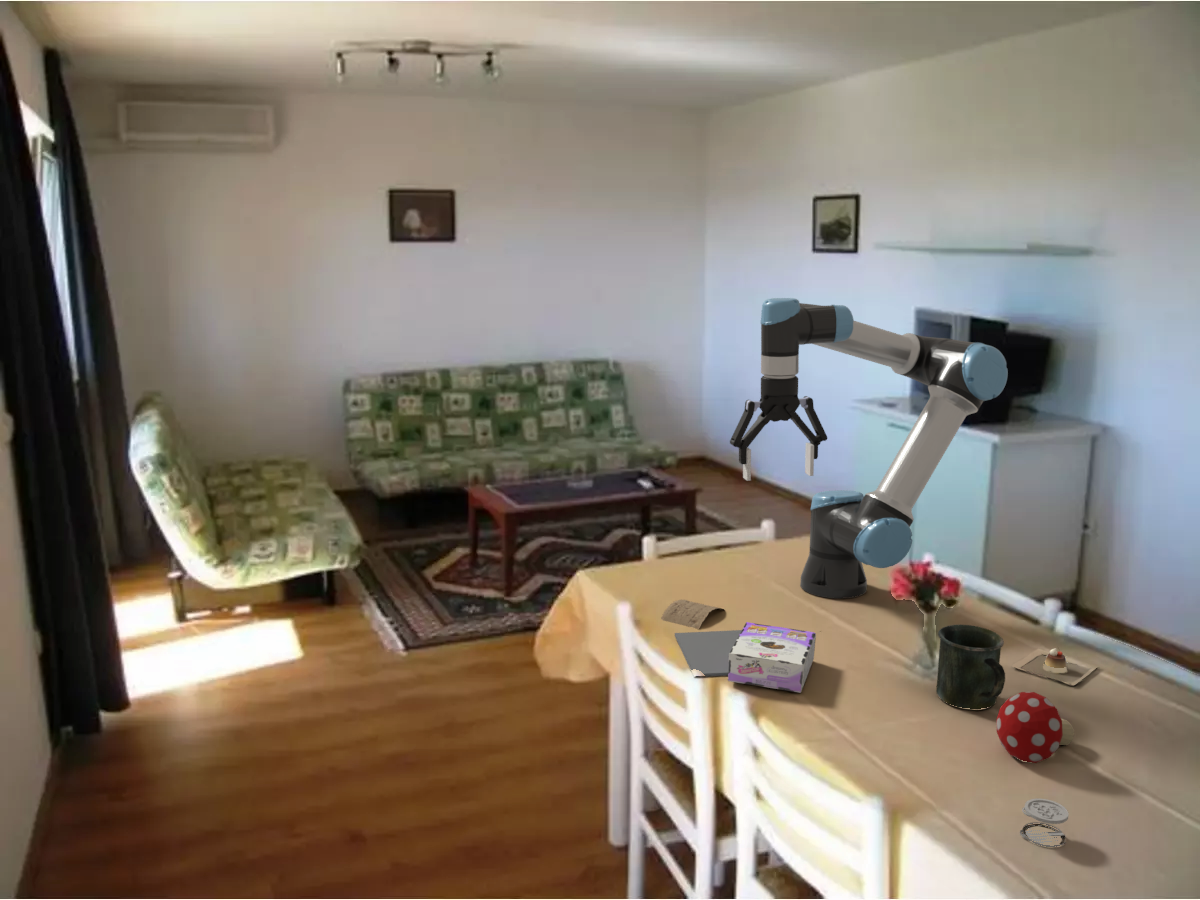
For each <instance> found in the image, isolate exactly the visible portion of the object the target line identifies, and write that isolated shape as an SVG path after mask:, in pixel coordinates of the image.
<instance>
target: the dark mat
mask: <svg viewBox="0 0 1200 900" xmlns="http://www.w3.org/2000/svg"><path fill="white" fill-rule="evenodd" d="M741 631H742V629H736V630H734V629H733V630H732V629H731V630H715V631H710V630H709V631H690V632H674V637H675V639H676V642H677V644H678V646H679V648H680V650H681V652H682V655H683V657H684V660H685V661H686V663H687V665H688V668H689V669H691V670H693V669H696V670H699V671H701V672H702V673H703V674H704V675H705V676H706V677H721V676H722V677H723V676H725V677H726V676H728V671H729V653H730V651H731V649H732V648H733V646H734V644H735V642H736V640H737V638H738V637H739V635H740V633H741ZM691 670H690V671H691Z"/></svg>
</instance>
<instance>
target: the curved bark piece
mask: <svg viewBox="0 0 1200 900" xmlns="http://www.w3.org/2000/svg"><path fill="white" fill-rule="evenodd" d="M720 609H721V610H720ZM714 610H720V611H725V609H724V608H721V607H718V606H717V607H716V606H713V605H712V606H711V605H709V604H708V605H707V604H704V603H699V602H696V601H695V602H694V601H690V600H688V599H678V600H675V601H673V602H671V603H669V605H668V606H667V608H666V609H665V610H664V612H663V614H662V616H661V617H660V620H662V621H663V622H667V623H673V624H675V625H676V624H677V625H681V626H685V627H689V628H693V629H697V630H699V629H700V628H701V626H702V624H703V623H704V621H705V620H706V618H707V617H708V615H709V613H711V612H712V611H714Z"/></svg>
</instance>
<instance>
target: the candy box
mask: <svg viewBox="0 0 1200 900" xmlns="http://www.w3.org/2000/svg"><path fill="white" fill-rule="evenodd" d="M741 630H742V631H741V633H740V635H739V637H738V638H737V640H736V642H735V644H734V646H733V648H732V649H731V651H730V653H729V671H728V675H727V681H728V682H730V683H731V682H733V683H738V684H745V685H751V686H757V687H763V688H768V689H769V688H770V689H775V690H776V689H777V690H781V691H787V692H793V693H800V694H801V693H802V691H803V688H804V685H805V682H806V681H807V678H808V676H809V673H810V669H811V667H812V664H813V662H814V660H815V659H814V658H815V649H816V638H817V633H816V632H814V631H808V630H802V629H794V628H787V627H782V626H773V625H766V624H761V623H760V624H759V623H753V622H750V621H749V622H748V621H746V622H745V624H744V625H743V628H742V629H741Z"/></svg>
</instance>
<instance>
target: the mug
mask: <svg viewBox="0 0 1200 900" xmlns="http://www.w3.org/2000/svg"><path fill="white" fill-rule="evenodd" d="M937 635H938V638H939V650H938V651H939V652H938V664H937V665H938V666H937V676H936V677H937V679H936V695H937V696H938V698H939V697H940V698H941V699H942V700H943V701H945V702H947V703H948V704H947V703H946V704H947V705H949V704H951V705H954V706H957V707H962V708H970V709H981V708H987V707H990V706H992V705H993V706H994V705H995V704H996V703H995V702H997V697H999V696H1001V694H1002V692H1003V689H1004V687H1005V683H1006V672H1005V669H1004V667H1003V665H1001V663H1000V661H1001V660H1000V658H1001V650H1002V647H1003V645H1004V644H1005V640H1004V638H1003V637H1002V636H1001V635H1000V634H999V633H997V632H995V631H994V630H991V629H989V628H985V627H981V626H979V625H971V624H950V625H946V626H943V627H942V628H940V629H939V630H938V631H937ZM940 698H939V699H940ZM941 699H940V700H941ZM942 700H941V701H942ZM943 701H942V702H943ZM945 702H944V703H945ZM951 705H950V706H951ZM993 706H992V707H993Z"/></svg>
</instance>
